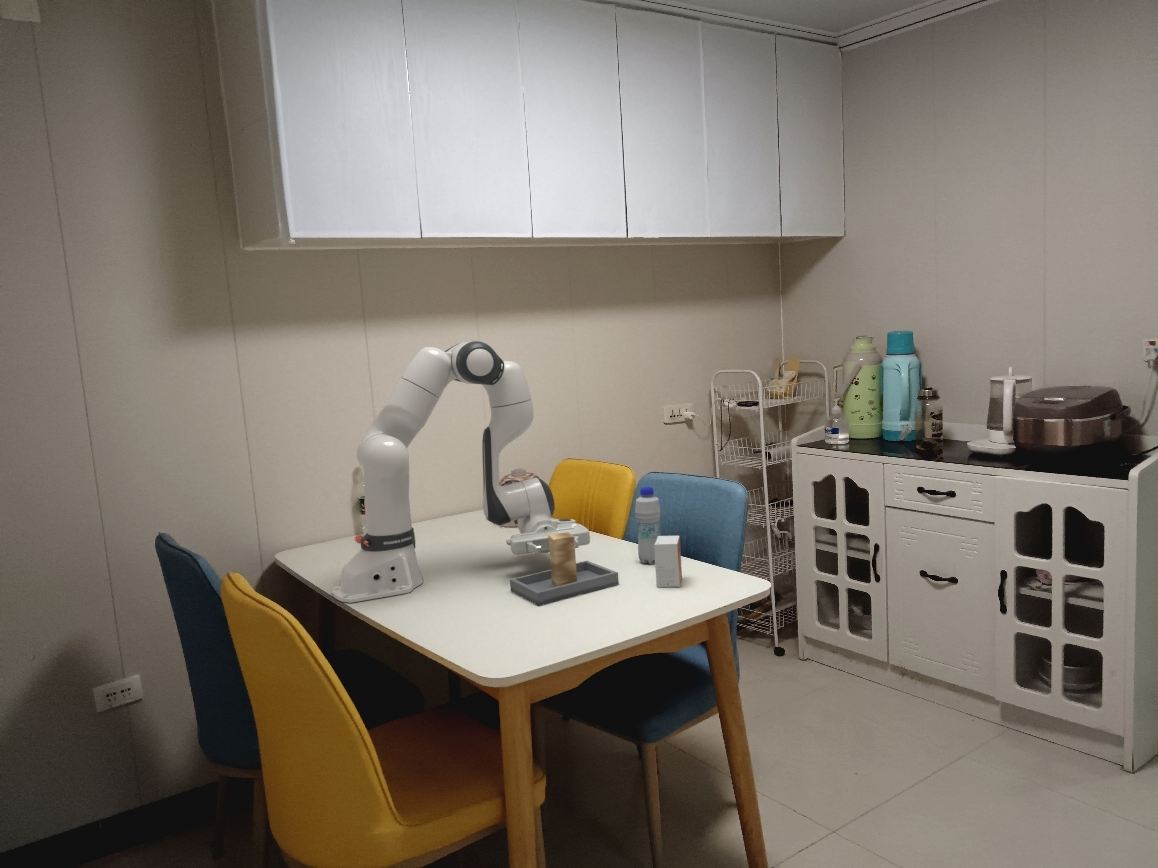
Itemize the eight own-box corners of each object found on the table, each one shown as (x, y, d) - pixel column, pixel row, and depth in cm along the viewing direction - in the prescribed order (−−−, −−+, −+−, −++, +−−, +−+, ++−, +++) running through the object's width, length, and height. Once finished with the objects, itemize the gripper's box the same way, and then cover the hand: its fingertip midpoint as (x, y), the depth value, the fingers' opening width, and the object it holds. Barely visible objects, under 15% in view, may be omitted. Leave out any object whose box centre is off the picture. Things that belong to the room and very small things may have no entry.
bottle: (669, 560, 212) (664, 485, 209) (650, 566, 208) (646, 490, 205) (651, 556, 217) (646, 483, 214) (632, 562, 213) (628, 487, 210)
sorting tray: (538, 605, 184) (537, 593, 183) (510, 591, 196) (509, 579, 195) (618, 584, 195) (617, 572, 195) (587, 572, 207) (587, 560, 207)
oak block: (557, 589, 192) (553, 539, 190) (552, 583, 197) (548, 534, 195) (577, 585, 193) (574, 536, 192) (571, 580, 198) (568, 532, 196)
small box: (680, 587, 190) (677, 543, 188) (656, 587, 191) (653, 544, 190) (682, 577, 198) (680, 535, 196) (659, 577, 199) (657, 535, 197)
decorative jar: (512, 519, 273) (507, 466, 271) (545, 519, 270) (541, 465, 267) (499, 528, 261) (494, 473, 259) (533, 528, 258) (529, 472, 256)
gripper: (503, 528, 208) (514, 540, 195) (579, 518, 214) (595, 529, 201) (505, 552, 209) (516, 566, 196) (581, 541, 215) (597, 554, 201)
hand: (557, 547), depth 198 cm, fingers open, 8 cm apart
